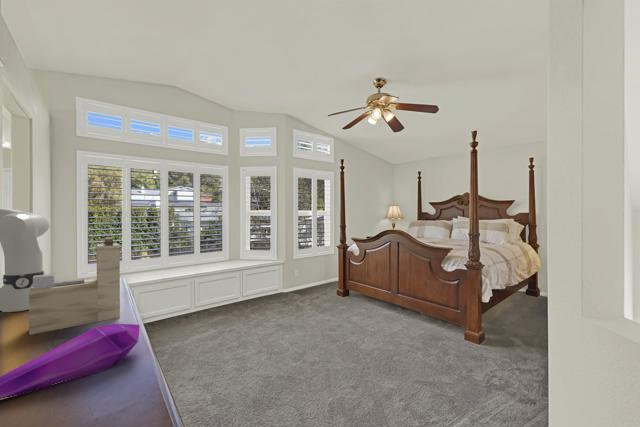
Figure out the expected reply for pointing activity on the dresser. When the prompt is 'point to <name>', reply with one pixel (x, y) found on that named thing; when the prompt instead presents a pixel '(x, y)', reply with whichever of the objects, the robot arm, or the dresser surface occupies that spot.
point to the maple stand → (79, 296)
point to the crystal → (72, 359)
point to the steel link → (50, 282)
